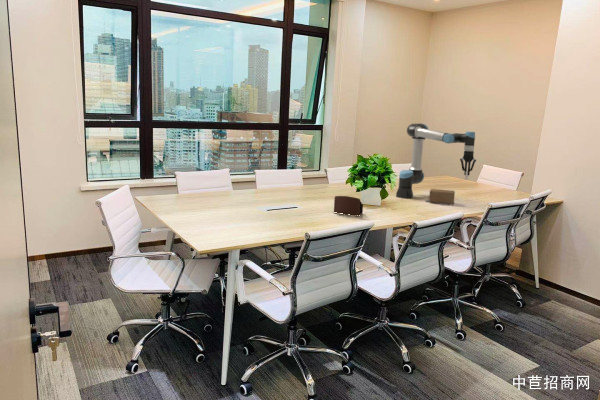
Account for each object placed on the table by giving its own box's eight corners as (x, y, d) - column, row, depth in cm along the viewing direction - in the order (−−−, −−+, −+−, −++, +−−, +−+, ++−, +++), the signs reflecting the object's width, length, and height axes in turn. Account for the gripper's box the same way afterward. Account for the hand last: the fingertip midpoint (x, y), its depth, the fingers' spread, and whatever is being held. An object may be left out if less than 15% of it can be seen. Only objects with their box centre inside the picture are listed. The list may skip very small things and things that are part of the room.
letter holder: (359, 216, 338) (360, 198, 335) (333, 213, 346) (334, 195, 343) (362, 213, 347) (363, 195, 344) (337, 210, 355) (338, 192, 352)
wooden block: (454, 192, 382) (429, 190, 389) (453, 204, 384) (428, 202, 391) (454, 190, 391) (430, 188, 398) (453, 202, 394) (429, 199, 400)
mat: (425, 201, 395) (425, 200, 395) (431, 198, 409) (431, 197, 408) (449, 205, 385) (449, 204, 385) (454, 202, 398) (454, 201, 398)
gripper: (459, 150, 377) (457, 179, 382) (476, 151, 370) (473, 180, 375) (461, 149, 383) (459, 177, 388) (478, 150, 377) (475, 179, 381)
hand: (466, 179), depth 382 cm, fingers closed
